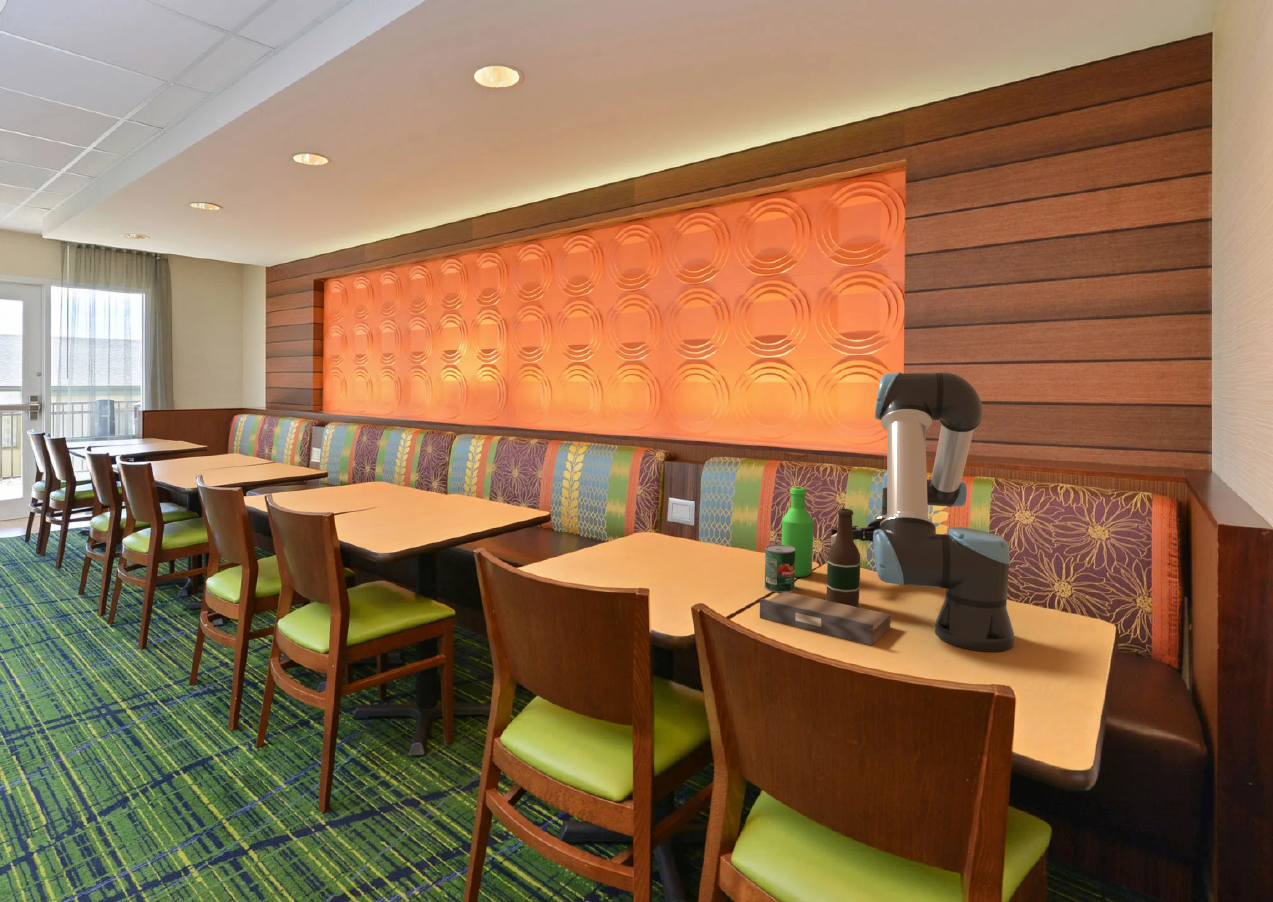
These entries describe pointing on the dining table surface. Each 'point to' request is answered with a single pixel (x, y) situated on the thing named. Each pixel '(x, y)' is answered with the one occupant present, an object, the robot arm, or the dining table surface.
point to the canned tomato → (779, 568)
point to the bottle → (799, 532)
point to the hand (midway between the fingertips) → (857, 545)
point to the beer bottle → (844, 564)
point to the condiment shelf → (826, 617)
